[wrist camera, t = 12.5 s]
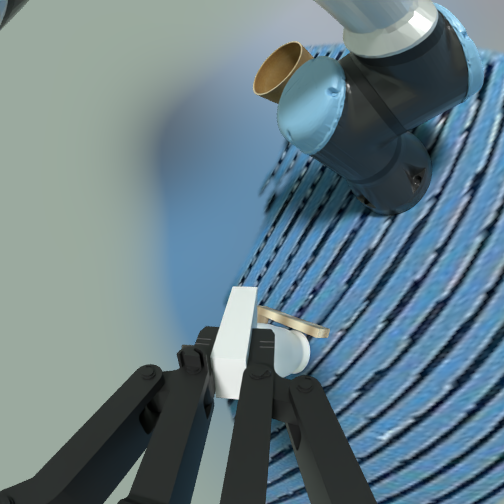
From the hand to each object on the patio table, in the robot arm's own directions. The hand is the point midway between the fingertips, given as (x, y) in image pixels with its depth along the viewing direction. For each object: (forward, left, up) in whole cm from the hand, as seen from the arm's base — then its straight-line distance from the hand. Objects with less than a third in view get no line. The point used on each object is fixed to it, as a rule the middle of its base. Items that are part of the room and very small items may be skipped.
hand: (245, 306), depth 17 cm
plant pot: (-48, -8, -29) cm, 57 cm away
